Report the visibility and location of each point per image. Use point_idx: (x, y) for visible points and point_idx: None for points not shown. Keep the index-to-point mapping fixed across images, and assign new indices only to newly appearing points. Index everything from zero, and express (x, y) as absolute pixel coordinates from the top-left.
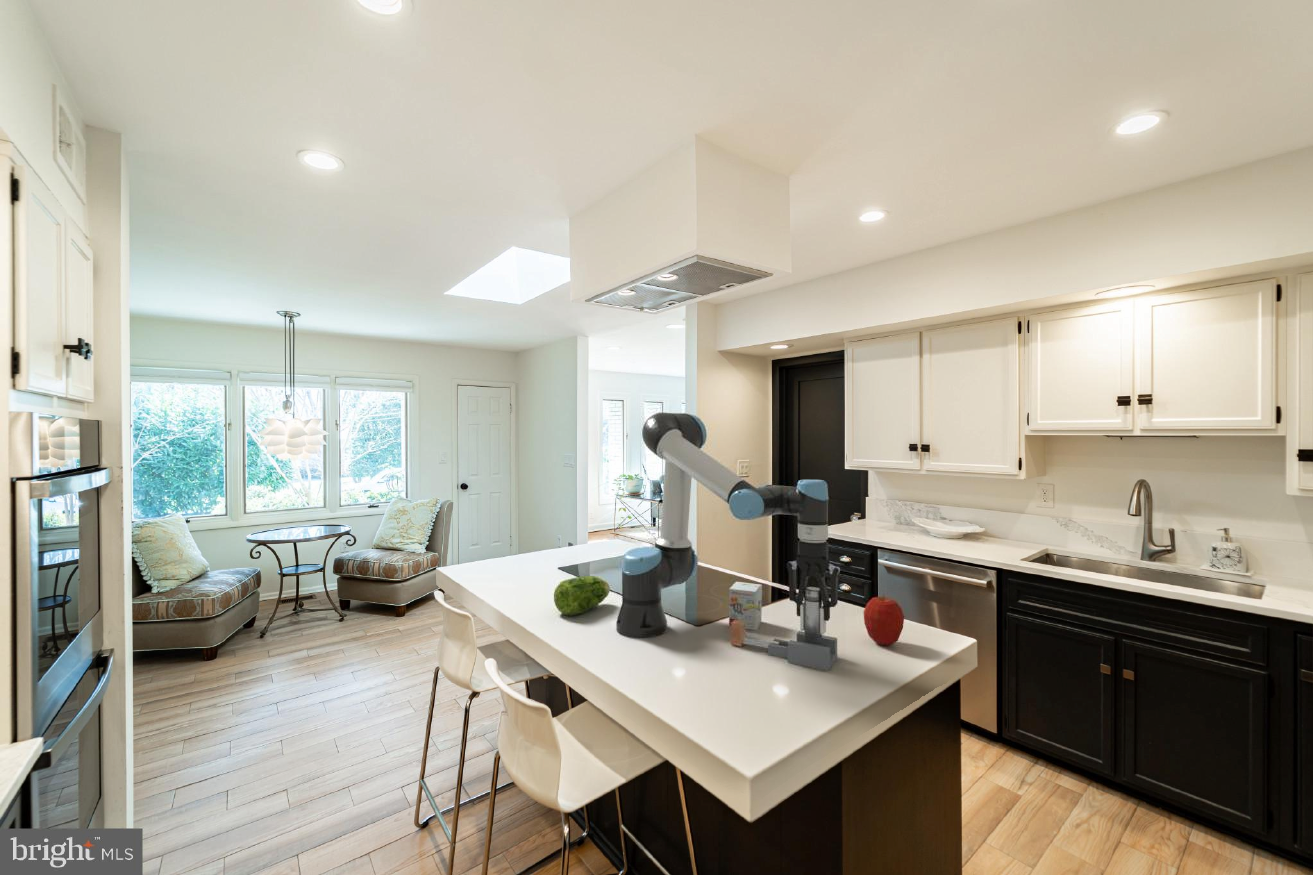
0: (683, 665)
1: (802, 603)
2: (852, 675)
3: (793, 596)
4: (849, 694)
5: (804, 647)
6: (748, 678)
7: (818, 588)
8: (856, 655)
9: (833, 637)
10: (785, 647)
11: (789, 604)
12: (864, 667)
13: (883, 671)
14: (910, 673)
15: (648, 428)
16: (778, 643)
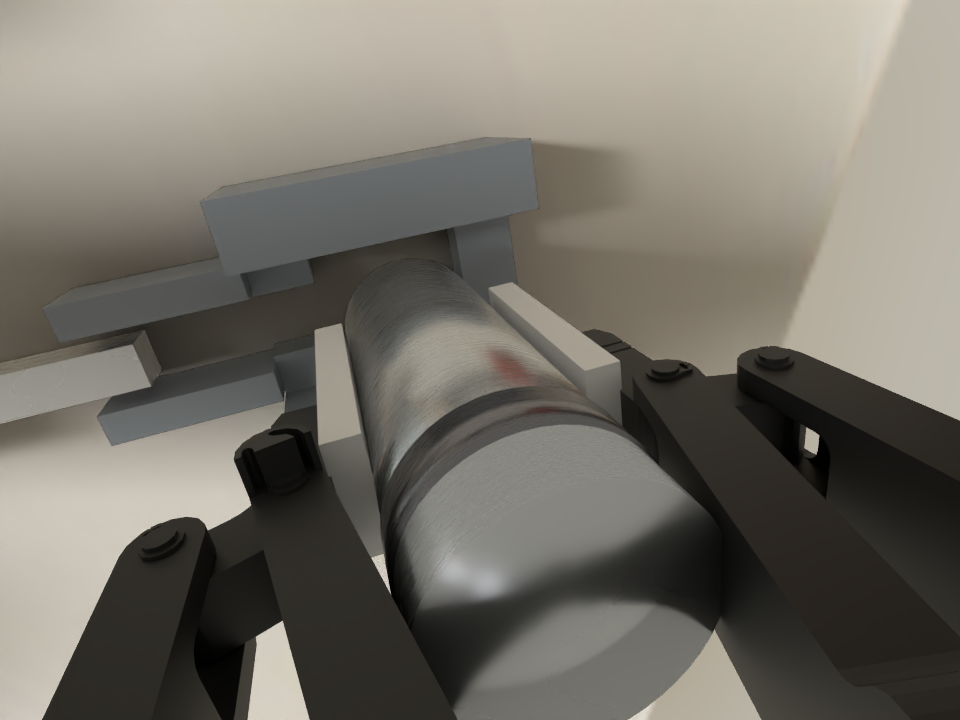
0: None
1: (334, 484)
2: (627, 324)
3: (248, 677)
4: None
5: None
6: (276, 679)
7: (641, 501)
8: (571, 14)
9: (505, 151)
10: (237, 399)
11: None
12: (652, 183)
13: (738, 167)
14: (848, 95)
15: None
16: (144, 369)
